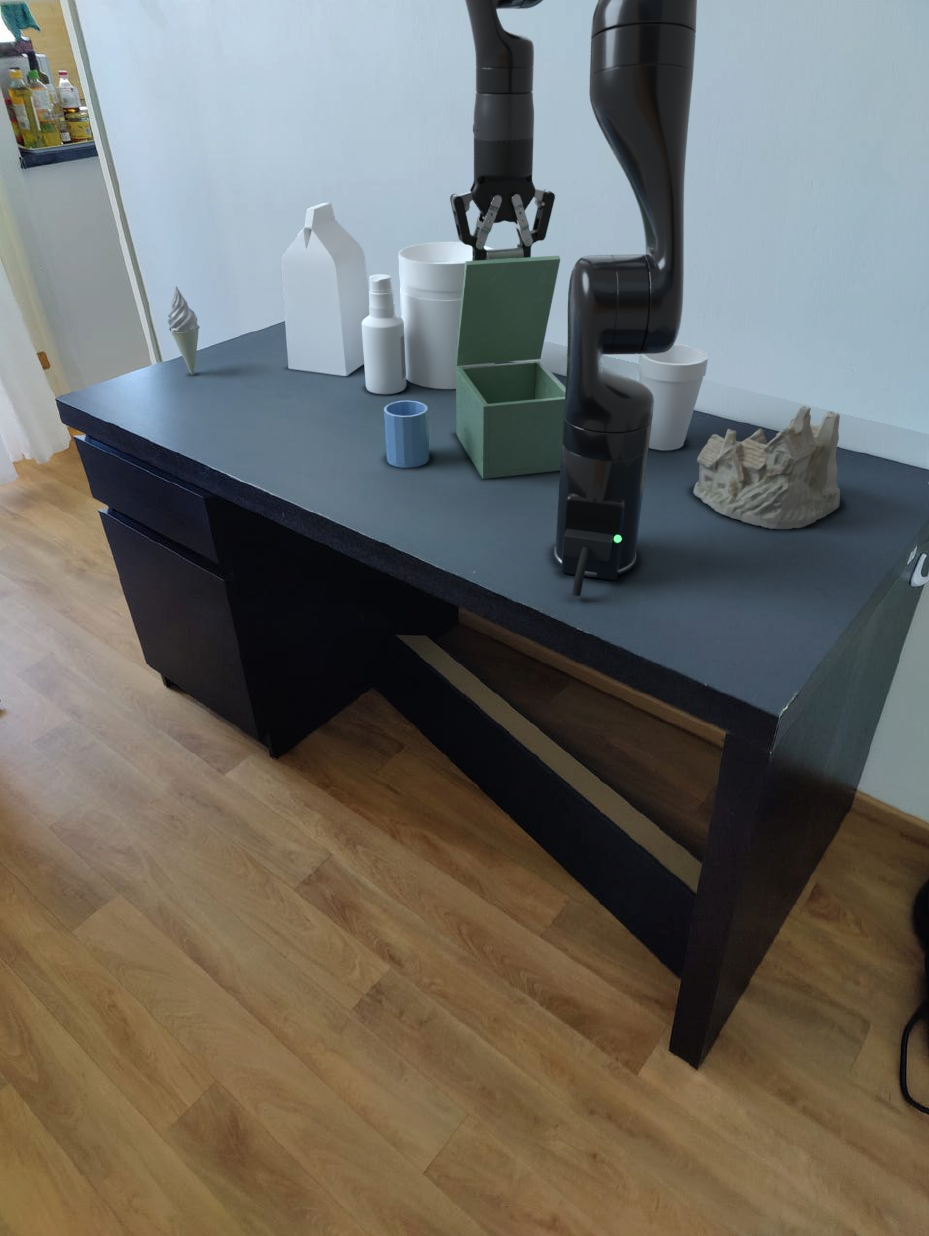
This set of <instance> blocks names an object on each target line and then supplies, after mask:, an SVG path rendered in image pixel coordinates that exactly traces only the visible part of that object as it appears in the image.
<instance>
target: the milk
mask: <svg viewBox="0 0 929 1236" xmlns="http://www.w3.org/2000/svg"><path fill="white" fill-rule="evenodd" d="M280 269H281V270H280V271H281V284H282V298H283V310H284V311H283V312H284V327H285V340H286V341H285V342H286V352H287V353H286V354H287V367H288V368H287V369H289V370H297V371H304V372H311V373H319V374H327V375H334V376H342V377H347V376H349V375H350V374H352V373H354V371H356V370H357V369H358V368H360V367H361V366H363V365H364V352H363V338H362V321H363V320H364V319H365V318H366V317H368V316H369V315H370V313H369V290H370V289H369V281H368V280H369V279H368V272H367V264H366V256H365V252H364V249H363V247H362V246H361V244H360V243H359V242H358V241H357V240H356V239H355V237H353V235H351V233H349V232H348V230H347V229H345V228H344V227H343V225H342V224H341V223H340V222H338V220H336V216H335V212H334V208H333V205H332V202H322V203H319V204H316V205H312V206H311V207H308V208H306V213H305V220H304V226H303V228H301V229H300V231H299V232H298V233H297V235H296V237H295V238H294V239H293V241H292V242H291V243H290V244H289V246H288V247H287V248H286V249H285V251H284V252H283V254H282V256H281V259H280Z"/></svg>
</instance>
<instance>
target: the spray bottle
mask: <svg viewBox="0 0 929 1236" xmlns="http://www.w3.org/2000/svg"><path fill="white" fill-rule="evenodd" d="M368 280H369V281H368V282H369V287H368V289H369V313H370V315H369V316H368V317H366V318H365V319H364V320H363V321H362V338H363V352H364V364H363V365H364V382H365V388H366V390H367V391H368V392H370V393H373V394H378V395H393V394H397V393H401V392H403V391H404V390H406V388H407V379H406V362H405V338H404V322H403V320H402V318H401V316H399V315H396V312H395V311H396V310H395V309H396V308H395V302H394V299H395V298H394V290H393V286H392V276H391V275H389V274H385V273H377V274H372V275H370V276H369V279H368Z"/></svg>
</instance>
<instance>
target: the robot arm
mask: <svg viewBox="0 0 929 1236" xmlns="http://www.w3.org/2000/svg"><path fill="white" fill-rule="evenodd" d="M543 1H544V0H464V2H465V6H466V11H467V14H468V19H469V24H470V30H471V33H472V40H473V46H474V53H475V98H474V100H475V101H474V110H473V123H472V124H473V125H472V133H473V183H472V185H471V187H470V189H469V191H466V192H464V193H463V192H462V193H460V194H457V193H452V194H451V195H450V197H449V202H450V205H451V206H450V207H451V211H452V214H453V219H454V224H455V229H456V232H457V238H458V240H459V242H463V243H464V244H465V245H470V246H472V260H473V261H478V260H486V249H484V246H486V243H487V240H488V237H489V234H490V233H491V231H492V229H493V226H494V224H499V223H502V222H508V223H512V224H513V227H514V229H515V232H516V235H517V238H518V241H519V243H517V246H516V248H522V249H523V258H528V257H532V247H533V245H534V244H535V243H537V242H538V241H544V240H545V239H546V236H547V233H548V228H549V224H550V220H551V217H552V212H553V208H554V203H555V200H556V194H555V193H554V192H552V191H550V190H549V189H539V188H536V187H535V184H534V182H533V169H534V168H533V167H534V137H535V136H534V135H535V107H534V93H533V92H534V69H535V68H534V67H535V66H534V65H535V49H534V48H535V46H534V43H533V40H532V39H531V38H530V37H529V36H527V35H524V34H522V33H518V32H513V31H510V30H507V29H505V28H504V26H503V24H502V22H501V20H500V17H499V15H498V11H497V10H526V9H527V10H528V9H532V8H534V7H536V6H538V5H539V4H541V3H543ZM697 9H698V0H597V3H596V5H595V8H594V12H593V15H592V21H591V30H590V31H591V33H590V57H589V58H590V59H589V60H590V61H589V64H590V65H589V90H588V91H589V93H588V94H589V102H590V105H591V109H592V112H593V115H594V118H595V120H596V122H597V125H598V127H599V129H600V131H601V133H602V134H603V137H604V139H605V140H606V142H607V144H608V146H609V148H610V150H611V151H612V153H613V155H614V157H615V158H616V160H617V162H618V164H619V166H620V167H621V170H622V171H623V173H624V175H625V178H626V179H627V182H628V183H629V185H630V188H631V190H632V192H633V195H634V198H635V200H636V203H637V206H638V209H639V213H640V216H641V222H642V226H643V232H644V243H645V245H644V246H645V253H644V254H641V253H639V254H636V253H635V254H590V255H584V256H582V257H580V258H579V259H577V260H576V262H575V264H574V265H573V267H572V270H571V273H570V277H569V284H568V291H567V292H568V293H567V349H566V350H567V351H566V352H567V353H566V375H565V387H566V392H565V407H564V422H563V438H562V451H561V467H560V471H559V485H558V500H557V514H556V515H557V516H556V520H557V521H556V534H555V546H554V552H553V557H554V560H555V562H556V563H557V564H558V565H559V566H560V567H561V569H560V570H561V571H560V572H561V573H562V574H568V575H573V576H574V581H573V586H572V593H571V595H572V596H575V597H581V596H582V595H581V594H582V589H583V584H584V578H585V577H586V578H587V577H588V578H595V579H600V580H601V579H602V580H609V581H616V580H617V577H618V576H619V575H623V574H625V573H627V572H629V571H631V570H632V568H634V566H635V564H636V562H637V561H636V560H637V547H638V539H639V538H638V537H639V528H640V521H641V512H642V505H643V497H644V496H643V495H644V489H645V480H646V471H647V464H648V463H647V462H648V456H649V455H648V454H649V441H650V433H651V425H652V417H653V409H654V397H653V394H652V392H651V391H650V389H649V388H648V387H646V386H645V385H644V384H642V383H640V382H639V380H636V379H633V378H630V377H628V376H625V375H622V374H620V373H617V372H614V371H613V370H611V369H609V368H607V367H606V366H605V365H603V364H602V363H601V358H602V356H604V355H606V356H607V355H609V356H610V355H640V354H657V353H664V352H667V351H668V350H670V349H671V348H672V346H673V345H674V344H676V342H677V338H678V336H679V333H680V328H681V323H682V318H683V317H682V316H683V307H684V283H685V282H684V280H685V279H684V278H685V277H684V276H685V269H684V267H685V255H684V254H685V177H686V159H687V148H688V147H687V146H688V133H689V123H690V122H689V121H690V114H691V113H690V110H691V103H692V102H691V101H692V90H693V80H694V71H695V70H694V67H695V53H696V38H697V37H696V36H697V35H696V34H697V13H698V10H697ZM533 199H534V204H535V207H536V212H535V216H534V221H533V224H532V229H531V230H530V224H529V220H528V218H527V214H526V212H525V211H526V210H527V208H528V207H529V205H530V204H531V202H532V200H533ZM472 201H473V203H474V205H475V206H476V207H477V210H478V211H479V213H478V217H477V219H476V223H475V228H474V231H473V234H471V230H470V226H469V221H468V216H467V212H468V211H469V210H470V208H471V207H470V205H471V202H472Z"/></svg>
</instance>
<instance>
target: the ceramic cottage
mask: <svg viewBox="0 0 929 1236" xmlns="http://www.w3.org/2000/svg"><path fill="white" fill-rule="evenodd" d="M811 409H812V407H809V406H805V405H804V406H803V405H801V406H800V407H799V409H798V410H797V412H796V414H795V415H794V417H793V418H792V419H791V420H790V424H789V426H788V427H786V428H784V429H782V430H780V431H779V432H777V433H776V434H775V435H776V436H774V438H772V439H771V440H769V442H768V441H767V438H766V436H765V433H764V432H765V431H764V430H763V429H762V428H759V429H757V430H756V431H755V432H754V433H753V434H752V435H750V436H749V437H747V438H745V439H744V440H742V441H737V431H736V430H732V429H731V428H727V431H726V433H725V436H724V437H722V436H720V435H719V434H717V433H715V434H711V437H710V438H709V439H708V440H707V443H706V444H705V446H703V448H702V449H701V451H700V453H699V454H698V456H697V458H696V462H697V463H698V464H699V466H698V481H697V482H696V483H695V485H694V488H693V492H692V493H693V494H694V496H695V497H697V498H698V499H700V500H701V501H702V503H704V504H707V505H708V506H709V507H711V509H713V510H714V512H716V513H718V514H721V515H724V516H726V517H729V518H731V519H733V520H739V521H741V522H742V523H746V524H750V525H753V526H756V527H757V526H758V527H759V526H761V528H765V529H766V528H767V529H770V530H774V529H775V530H792V529H801V528H805V527H807V526H810V525H811V524H813V523H815V522H817V520H820V519H822V518H825V517H826V516H827V515H830V514H831V513H833V512H834V511H836V510H837V509H839V508H840V502H841V489H840V487H839V486H838V483H837V481H838V474H839V473H838V472H839V470H838V469H839V468H838V464H837V463H838V462H837V459H838V457H839V453H838V451H837V450H838V449H837V448H838V443H839V441H840V433H839V425H840V420H841V419H840V418H841V415H840V413H838V412H836V411H831V410H830V411H827V412H826V413H825V415H824V416H823V418H822V419H821V423H820V425H817V424H813V423H811V419H812V415H811Z"/></svg>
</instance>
